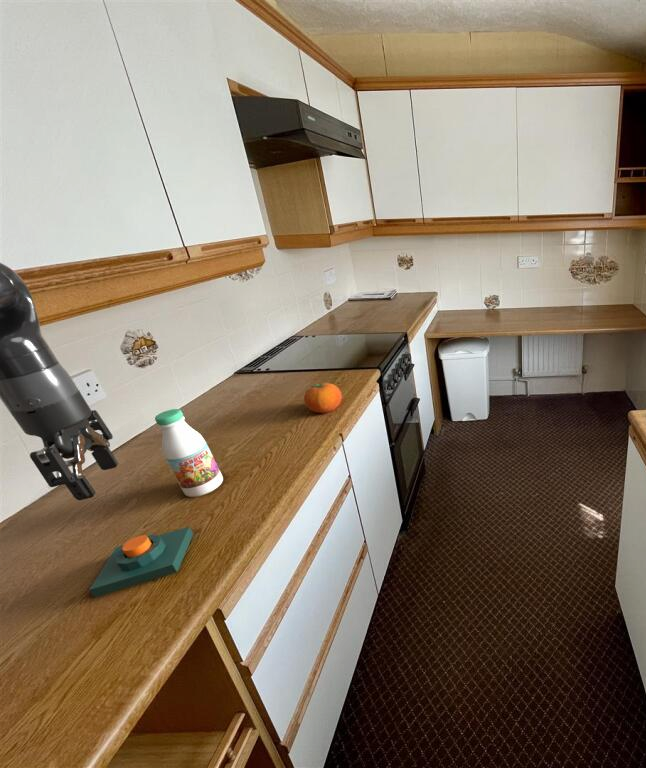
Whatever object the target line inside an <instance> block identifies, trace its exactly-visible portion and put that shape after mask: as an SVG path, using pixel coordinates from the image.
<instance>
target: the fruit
mask: <svg viewBox="0 0 646 768" xmlns="http://www.w3.org/2000/svg"><path fill="white" fill-rule="evenodd" d="M342 399H343V395H342V392H341V390H340V388H339V387H338V386H337V385H335V384H333V383H331V382H324V383H317V384H314V385H312V386H310V387H309V388H308V390H307V389H306V392H305V393H304V395H303V400H304V404H305V406H306V407H307V408H308V410H309V411H311V412H313V413H317V414H327V413H330V412H332V411H334V410H335V409H337V408H338V407H339V406H340V404H341V402H342Z"/></svg>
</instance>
